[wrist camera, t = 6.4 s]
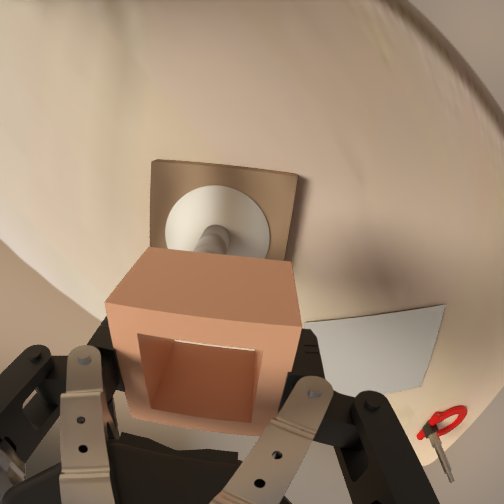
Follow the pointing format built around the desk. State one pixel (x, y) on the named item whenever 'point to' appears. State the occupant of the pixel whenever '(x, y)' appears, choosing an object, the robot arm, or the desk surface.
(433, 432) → the tow hook
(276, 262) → the collar
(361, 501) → the robot arm
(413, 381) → the grey flat panel
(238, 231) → the post stand
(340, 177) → the desk surface
